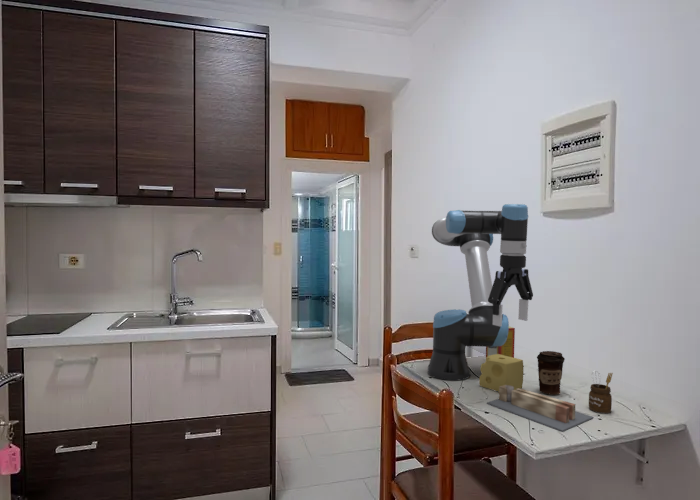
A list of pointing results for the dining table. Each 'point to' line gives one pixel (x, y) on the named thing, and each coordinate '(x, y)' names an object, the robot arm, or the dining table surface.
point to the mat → (541, 416)
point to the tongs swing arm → (571, 405)
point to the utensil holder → (600, 396)
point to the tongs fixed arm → (534, 403)
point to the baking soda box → (504, 346)
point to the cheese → (501, 372)
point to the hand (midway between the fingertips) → (510, 322)
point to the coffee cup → (550, 371)
